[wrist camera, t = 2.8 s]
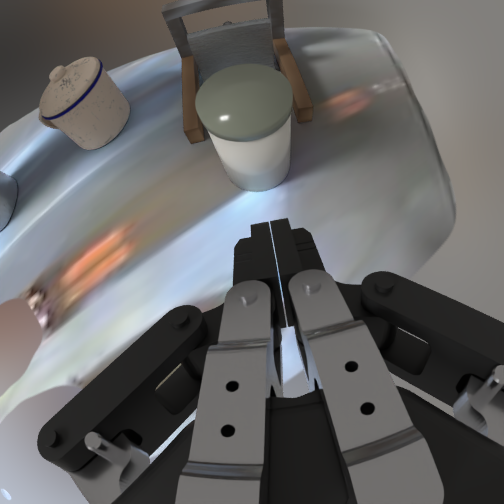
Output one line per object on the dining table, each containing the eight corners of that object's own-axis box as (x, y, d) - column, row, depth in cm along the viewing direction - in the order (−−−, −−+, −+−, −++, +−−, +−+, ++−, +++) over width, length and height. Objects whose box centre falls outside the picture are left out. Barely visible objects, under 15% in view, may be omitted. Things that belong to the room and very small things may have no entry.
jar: (228, 199, 27) (198, 142, 17) (220, 142, 28) (193, 75, 18) (298, 186, 26) (303, 122, 16) (283, 129, 28) (280, 57, 18)
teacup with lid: (137, 89, 32) (98, 31, 20) (127, 142, 30) (74, 84, 18) (71, 114, 33) (27, 71, 21) (57, 165, 31) (1, 126, 20)
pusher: (204, 83, 30) (187, 38, 22) (201, 57, 31) (186, 15, 24) (274, 69, 29) (270, 22, 22) (265, 44, 30) (260, 1, 23)
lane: (191, 143, 29) (153, 78, 18) (186, 62, 32) (162, 5, 21) (311, 120, 28) (318, 46, 17) (281, 43, 31) (277, -18, 20)
